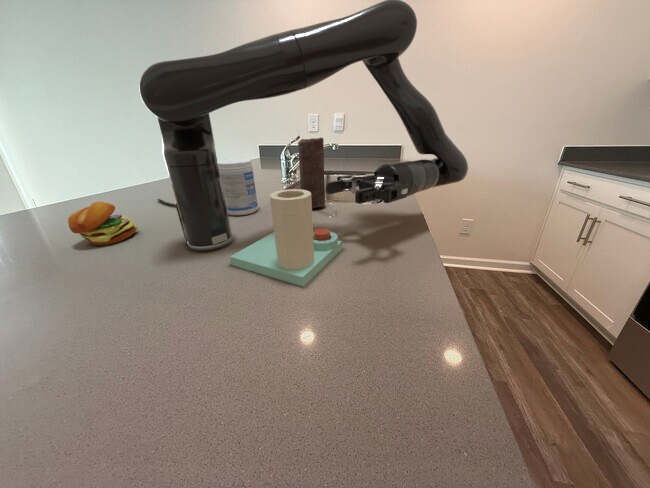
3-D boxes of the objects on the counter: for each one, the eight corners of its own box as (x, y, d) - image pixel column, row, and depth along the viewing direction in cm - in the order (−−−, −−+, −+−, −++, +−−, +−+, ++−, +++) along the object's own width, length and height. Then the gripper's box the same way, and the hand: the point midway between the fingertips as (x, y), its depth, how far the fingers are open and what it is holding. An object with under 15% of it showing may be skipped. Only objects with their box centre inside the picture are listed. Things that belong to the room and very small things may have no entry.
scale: (231, 265, 48) (228, 248, 47) (280, 236, 60) (278, 222, 59) (303, 287, 42) (302, 268, 40) (342, 249, 53) (342, 233, 52)
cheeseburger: (146, 235, 62) (119, 199, 56) (96, 261, 56) (61, 223, 51) (134, 225, 68) (109, 191, 62) (88, 247, 63) (56, 212, 57)
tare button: (310, 240, 50) (310, 233, 50) (318, 234, 53) (318, 227, 52) (325, 243, 49) (325, 235, 48) (332, 237, 52) (332, 229, 51)
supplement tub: (258, 214, 75) (251, 162, 68) (224, 218, 73) (213, 164, 67) (258, 205, 83) (251, 157, 77) (227, 208, 82) (218, 159, 75)
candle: (322, 211, 76) (320, 138, 67) (298, 210, 77) (293, 139, 69) (327, 204, 83) (326, 136, 74) (305, 203, 84) (301, 137, 75)
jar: (270, 264, 45) (261, 196, 39) (291, 249, 50) (286, 187, 44) (301, 273, 42) (296, 201, 37) (320, 256, 47) (318, 191, 42)
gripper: (376, 158, 59) (317, 166, 50) (432, 165, 48) (369, 177, 40) (374, 191, 62) (318, 204, 53) (426, 204, 51) (367, 223, 43)
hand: (340, 192), depth 46 cm, fingers open, 8 cm apart
